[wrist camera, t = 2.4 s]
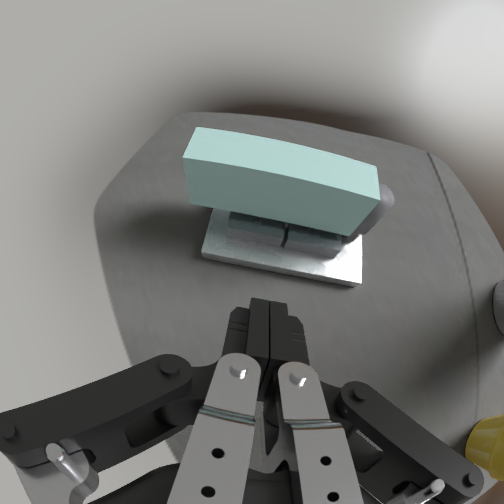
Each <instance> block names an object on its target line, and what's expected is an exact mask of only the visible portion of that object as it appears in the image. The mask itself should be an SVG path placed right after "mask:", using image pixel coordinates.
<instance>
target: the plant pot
mask: <svg viewBox="0 0 504 504" xmlns="http://www.w3.org/2000/svg"><path fill="white" fill-rule="evenodd" d="M465 456H466V458H467V460H469V461H471V462H472V463H474V464H476V465H478V466H480V467H481V468H483V469H485V470H487V471H488V472H489V474H490V476H491V477H492V478H494V479H497V480H502V481H504V414H502V415H498V416H494V417H489V418H485V419H482V420H481V421H479V422H478V423H477V424H476V426H475V427H474V428H473V430H472V432H471V433H470V435H469V438H468V440H467V443H466V448H465Z"/></svg>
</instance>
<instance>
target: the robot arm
mask: <svg viewBox="0 0 504 504" xmlns="http://www.w3.org/2000/svg"><path fill="white" fill-rule="evenodd" d="M493 309H494V315H495V319H496V323H497V326H498V328H499V330H500V331H501V332H502V334H504V280H502V281H500V282H499V283H498V284H497V285H496V287H495V290H494V295H493ZM256 401H262V402H264V409H263V411H262V414H261V417H260V423H261V441H262V465H261V470H260V472H258V471H255V470H252V469H249V468H248V467H249V461H250V455H251V449H252V443H253V436H254V430H255V419H254V413H255V407H256ZM187 425H194V426H193V429H192V432H191V435H190V438H189V441H188V444H187V447H186V449H185V452H184V455H183V458H182V461H181V463H176V464H171V465H166V466H163V467H159V468H157V469H154V470H152V471H150V472H148V473H146V474H145V475H143V476H141V477H140V478H138V479H136V480H134V481H132V482H131V483H129V484H127V485H125V486H123V487H121V488H119V489H117V490H116V491H113V492H111V493H109V494H107V495H105V496H103V497H101V498H99V499H97V500H94V501H92V502H90V503H88V504H381V503H380V502H379V501H377V500H376V499H375V498H374V497H373V496H375V497H376V498H377V499H378V500H380V501H381V502H382V503H384V504H463V503H465V502H466V501H468V500H470V499H471V498H473V497H474V496H476V495H477V494H479V493H480V491H481V490H482V488H483V484H484V477H483V474H482V472H481V470H480V469H479V468H478V467H477V466H476V465H474V464H473V463H471V462H470V461H469V460H467V459H466V458H464V457H463V456H461V455H460V454H459V453H457V452H456V451H454V450H453V449H452V448H450V447H449V446H448V445H446V444H445V443H443V442H442V441H441V440H439V439H438V438H437V437H435V436H434V435H433V434H431V433H430V432H429V431H427V430H426V429H425V428H423V427H422V426H421V425H419V424H418V423H417V422H415V421H414V420H413V419H411V418H410V417H409V416H407V415H406V414H405V413H403V412H402V411H401V410H400V409H398V408H397V407H396V406H394V405H393V404H392V403H391V402H389V401H388V400H387V399H385V398H384V397H383V396H382V395H380V394H379V393H378V392H377V391H375V390H374V389H373V388H371V387H370V386H369V385H367V384H365V383H362V382H357V381H353V382H348V383H346V384H345V385H344V386H343V387H342V389H341V388H338V387H335V386H332V385H329V384H326V383H324V382H322V381H320V380H319V377H318V374H317V373H316V371H315V370H314V369H313V368H312V367H310V365H309V359H308V353H307V346H306V342H305V335H304V329H303V324H302V323H301V322H300V320H299V319H298V318H297V317H294V316H288V309H287V304H286V303H280V302H275V301H268V300H263V299H258V298H251V301H250V306H249V309H247V308H242V307H236V308H235V309H234V310H233V311H232V312H231V314H230V319H229V323H228V328H227V333H226V338H225V343H224V347H223V352H222V356H221V358H220V359H219V360H218V361H217V362H216V363H214V364H212V365H209V366H203V367H191V365H190V364H189V362H188V361H187V360H185V359H184V358H182V357H180V356H177V355H172V354H163V355H159V356H156V357H154V358H152V359H149V360H147V361H145V362H142V363H140V364H137V365H135V366H133V367H130V368H128V369H125V370H123V371H120V372H118V373H115V374H113V375H110V376H108V377H105V378H103V379H100V380H97V381H95V382H92V383H90V384H87V385H84V386H82V387H79V388H76V389H73V390H70V391H68V392H65V393H62V394H59V395H56V396H53V397H50V398H47V399H44V400H41V401H38V402H35V403H32V404H29V405H25V406H23V407H19V408H16V409H12V410H9V411H6V412H2V413H0V451H1V452H2V453H3V454H4V455H5V456H6V457H7V458H8V459H9V461H10V462H11V463H12V464H13V465H14V467H15V469H16V471H17V474H18V476H19V478H20V480H21V483H22V484H23V487H24V489H25V491H26V493H27V495H28V497H29V499H30V501H31V503H32V504H83V501H84V499H85V498H86V497H87V496H89V495H90V494H92V493H93V492H94V491H95V490H96V489H97V487H98V485H99V476H98V472H101V471H103V470H105V469H108V468H110V467H112V466H114V465H116V464H118V463H120V462H123V461H125V460H127V459H129V458H131V457H133V456H135V455H137V454H139V453H141V452H143V451H145V450H147V449H149V448H150V447H152V446H154V445H156V444H158V443H160V442H162V441H163V440H165V439H167V438H169V437H171V436H172V435H174V434H176V433H177V432H179V431H181V430H183V429H184V428H185V427H186V426H187ZM357 429H358V430H359V431H361V432H362V433H363V434H364V435H365V436H367V437H368V438H369V439H370V440H371V441H373V442H374V443H375V444H376V445H377V446H379V447H380V448H381V449H382V450H383V451H379V450H377V449H376V448H375V447H373V446H372V445H371V444H370V443H369V442H367V441H366V440H365V439H364V438H363V437H362V436H360V435H359V434H358V433H357V432H356V431H357ZM359 484H360V485H361V486H362V487H364V488H365V489H366V490H367V491H368V492H370V493H371V494H372V495H373V496H372V495H370V494H369V493H368V492H367V491H366V490H365V489H364V488H362V487H361V486H360V485H359Z"/></svg>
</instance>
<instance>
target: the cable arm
mask: <svg viewBox="0 0 504 504" xmlns="http://www.w3.org/2000/svg"><path fill="white" fill-rule="evenodd" d="M183 163H184V169H185V175H186V181H187V187H188V193H189V198H190V204H195V205H200V206H206V207H211V208H217V209H222V210H227V211H233V212H238V213H243V214H248V215H253V216H258V217H263V218H268V219H273V220H278V221H283V222H287V223H292V224H297V225H301V226H306V227H310V228H315V229H319V230H324V231H328V232H333V233H337V234H341V235H346V236H350V235H351V234H352V233H353V232H354V233H356V234H359V235H364V234H366V233H367V232H368V231H369V230H370V229H371V228H372V227H373V226H374V225H375V224H376V223H377V222H378V221H379V220H380V219H381V218H382V217H383V216H384V214H385V213H386V212H387V211H388V210H389V209H390V208H391V207H392V206H393V205H394V196H393V193H392V192H391V190H390V189H389V188H388V187H387V186H385V185H384V184H382V183H378V175H377V168H376V167H375V166H372V165H369V164H366V163H363V162H360V161H357V160H353V159H350V158H347V157H343V156H340V155H336V154H333V153H329V152H325V151H321V150H318V149H314V148H310V147H306V146H301V145H297V144H293V143H288V142H284V141H279V140H274V139H269V138H264V137H259V136H254V135H248V134H242V133H236V132H230V131H223V130H216V129H209V128H201V127H197V128H196V130H195V132H194V134H193V136H192V138H191V140H190V142H189V145H188V147H187V149H186V151H185V153H184V156H183Z"/></svg>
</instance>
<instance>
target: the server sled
mask: <svg viewBox="0 0 504 504" xmlns="http://www.w3.org/2000/svg"><path fill="white" fill-rule="evenodd" d="M201 254H202V258H207V259H211V260H216V261H221V262H226V263H231V264H236V265H241V266H246V267H251V268H256V269H262V270H267V271H272V272H277V273H282V274H287V275H293V276H298V277H303V278H308V279H314V280H319V281H324V282H330V283H335V284H341V285H346V286H352V287H356V286H357V285H359V284H360V283H361V275H362V235H359V234H356V233H354V232H353V233H352V234H351V235H350V236H346V235H341V234H337V233H333V232H328V231H324V230H319V229H315V228H310V227H306V226H301V225H297V224H292V223H287V222H283V221H278V220H273V219H268V218H263V217H258V216H253V215H248V214H243V213H238V212H233V211H227V210H222V209H217V208H213V211H212V214H211V218H210V221H209V225H208V228H207V232H206V236H205V239H204V243H203V247H202V250H201Z"/></svg>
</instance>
